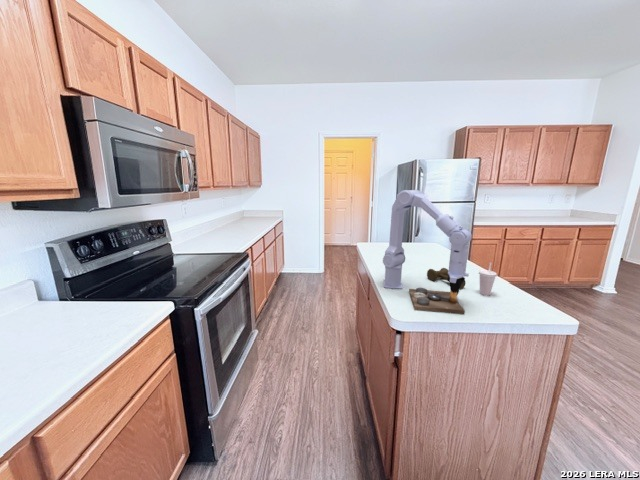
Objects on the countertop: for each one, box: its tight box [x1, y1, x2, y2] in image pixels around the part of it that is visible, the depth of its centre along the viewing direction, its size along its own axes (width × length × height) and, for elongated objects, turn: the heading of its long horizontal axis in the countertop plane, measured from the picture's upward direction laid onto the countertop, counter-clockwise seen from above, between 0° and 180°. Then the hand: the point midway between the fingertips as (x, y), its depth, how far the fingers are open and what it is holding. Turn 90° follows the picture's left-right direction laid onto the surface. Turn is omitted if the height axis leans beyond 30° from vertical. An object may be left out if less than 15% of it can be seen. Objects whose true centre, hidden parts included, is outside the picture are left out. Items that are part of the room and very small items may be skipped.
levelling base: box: [408, 287, 466, 315], centre depth 103 cm, size 17×17×3 cm
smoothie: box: [478, 262, 498, 297], centre depth 110 cm, size 6×6×14 cm
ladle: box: [428, 290, 458, 303], centre depth 101 cm, size 10×5×4 cm, turn 58°
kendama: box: [426, 267, 466, 290], centre depth 125 cm, size 6×10×20 cm
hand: (454, 295), depth 101 cm, fingers closed
